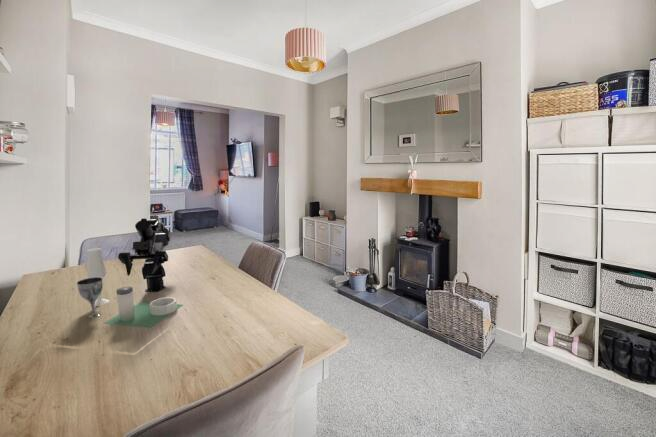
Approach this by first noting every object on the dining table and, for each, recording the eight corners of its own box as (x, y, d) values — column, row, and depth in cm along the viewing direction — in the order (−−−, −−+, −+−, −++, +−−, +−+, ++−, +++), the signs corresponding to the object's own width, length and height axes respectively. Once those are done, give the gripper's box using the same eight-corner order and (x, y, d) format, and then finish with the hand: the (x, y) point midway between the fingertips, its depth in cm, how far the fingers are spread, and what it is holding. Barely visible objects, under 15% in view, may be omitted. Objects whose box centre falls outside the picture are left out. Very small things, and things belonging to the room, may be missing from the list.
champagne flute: (90, 307, 136) (83, 252, 132) (91, 301, 142) (84, 248, 138) (109, 303, 140) (103, 250, 136) (109, 298, 145) (104, 246, 141)
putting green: (103, 324, 121) (102, 314, 120) (142, 302, 141) (141, 293, 140) (150, 329, 118) (149, 318, 117) (183, 306, 137) (183, 296, 137)
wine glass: (90, 312, 131) (85, 277, 129) (110, 312, 132) (106, 276, 129) (76, 322, 123) (71, 284, 121) (98, 321, 124) (94, 284, 122)
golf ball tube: (116, 320, 123) (112, 291, 121) (126, 314, 128) (123, 286, 126) (128, 322, 122) (125, 292, 120) (138, 315, 127) (135, 286, 125)
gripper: (117, 234, 137) (107, 267, 128) (164, 232, 141) (158, 264, 132) (126, 247, 146) (118, 279, 137) (170, 245, 150) (165, 276, 141)
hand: (140, 274), depth 137 cm, fingers open, 9 cm apart
